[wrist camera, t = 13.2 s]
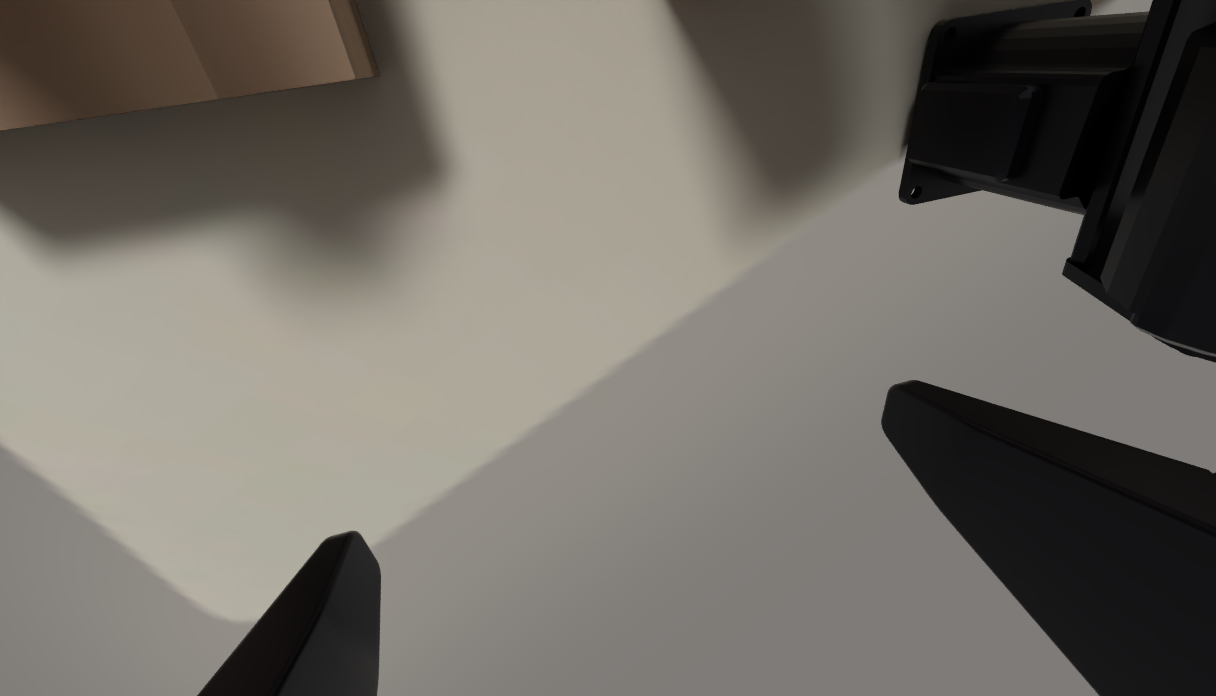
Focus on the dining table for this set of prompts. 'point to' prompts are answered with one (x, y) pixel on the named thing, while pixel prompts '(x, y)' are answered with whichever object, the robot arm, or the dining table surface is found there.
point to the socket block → (168, 53)
